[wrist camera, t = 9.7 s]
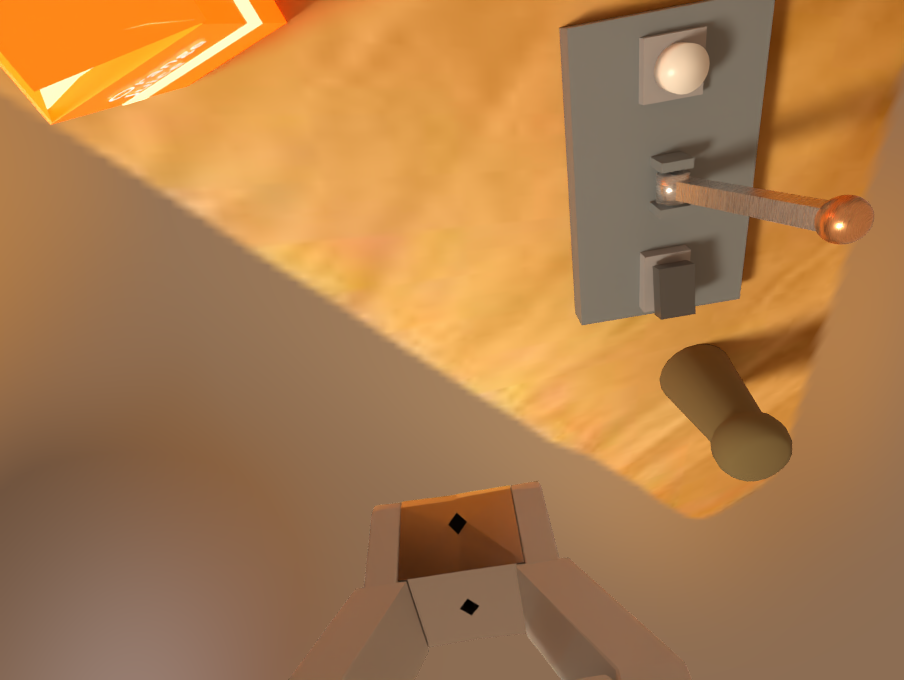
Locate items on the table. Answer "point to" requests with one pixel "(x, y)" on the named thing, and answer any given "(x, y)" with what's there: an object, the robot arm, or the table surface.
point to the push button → (681, 67)
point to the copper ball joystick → (771, 205)
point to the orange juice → (121, 47)
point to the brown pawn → (726, 413)
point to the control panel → (659, 150)
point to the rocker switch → (674, 289)
